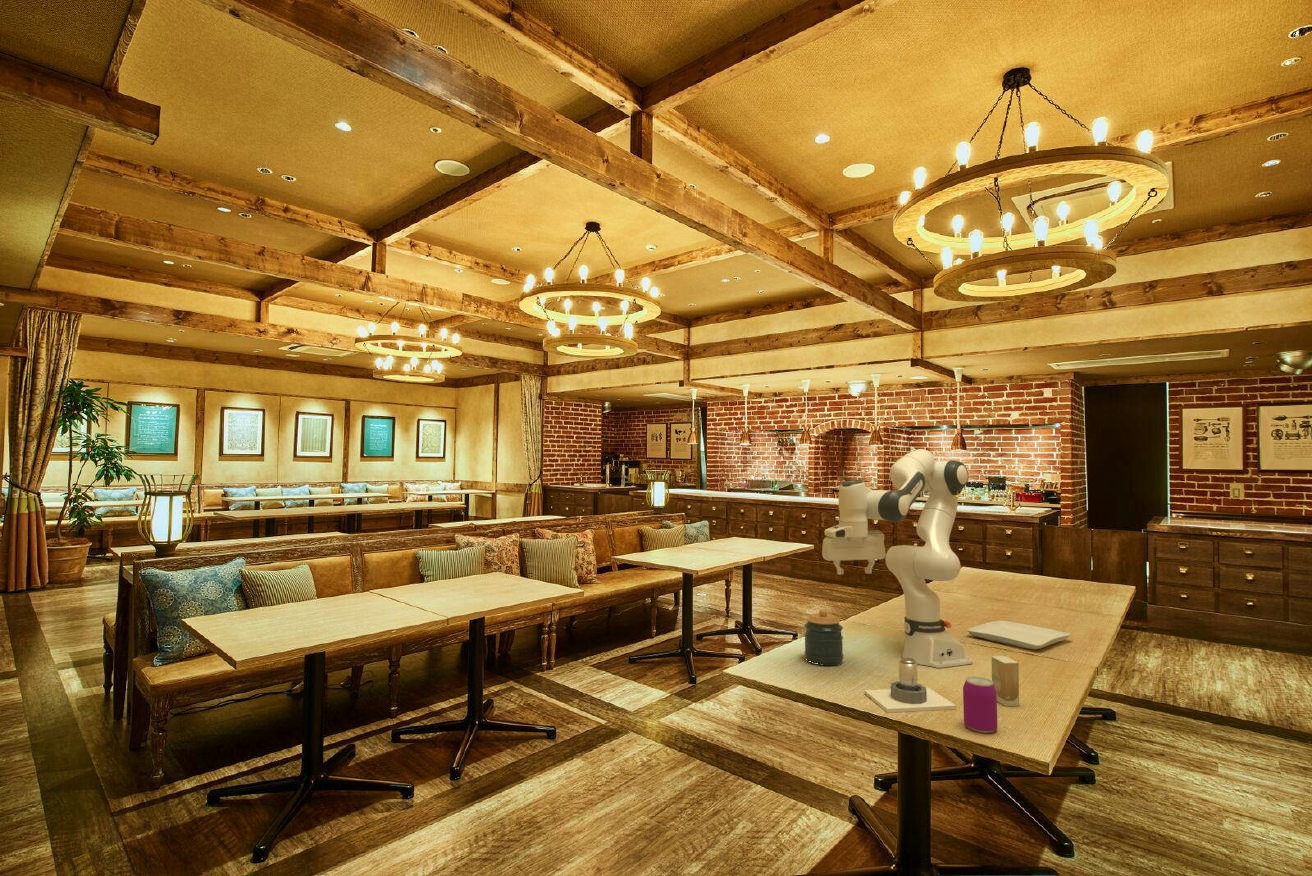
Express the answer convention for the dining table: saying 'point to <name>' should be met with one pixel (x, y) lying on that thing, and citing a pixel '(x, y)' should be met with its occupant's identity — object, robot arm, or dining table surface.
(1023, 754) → the dining table surface
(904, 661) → the cylinder
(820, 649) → the canister
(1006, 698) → the skincare box
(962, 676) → the dining table surface
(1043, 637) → the square plate
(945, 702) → the ring block
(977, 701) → the beverage can
